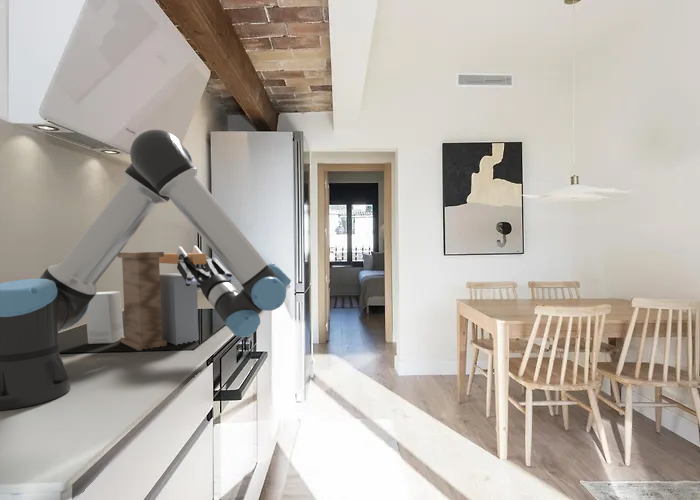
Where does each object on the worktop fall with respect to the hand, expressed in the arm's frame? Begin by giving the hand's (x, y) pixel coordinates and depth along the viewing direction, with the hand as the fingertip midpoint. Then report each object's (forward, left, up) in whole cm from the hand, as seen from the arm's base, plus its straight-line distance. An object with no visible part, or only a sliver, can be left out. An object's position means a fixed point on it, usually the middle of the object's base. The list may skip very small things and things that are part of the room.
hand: (186, 249), depth 131 cm
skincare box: (-17, +24, -29) cm, 41 cm away
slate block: (0, +9, -28) cm, 30 cm away
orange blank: (0, +4, -4) cm, 6 cm away
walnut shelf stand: (-10, +11, -28) cm, 32 cm away
